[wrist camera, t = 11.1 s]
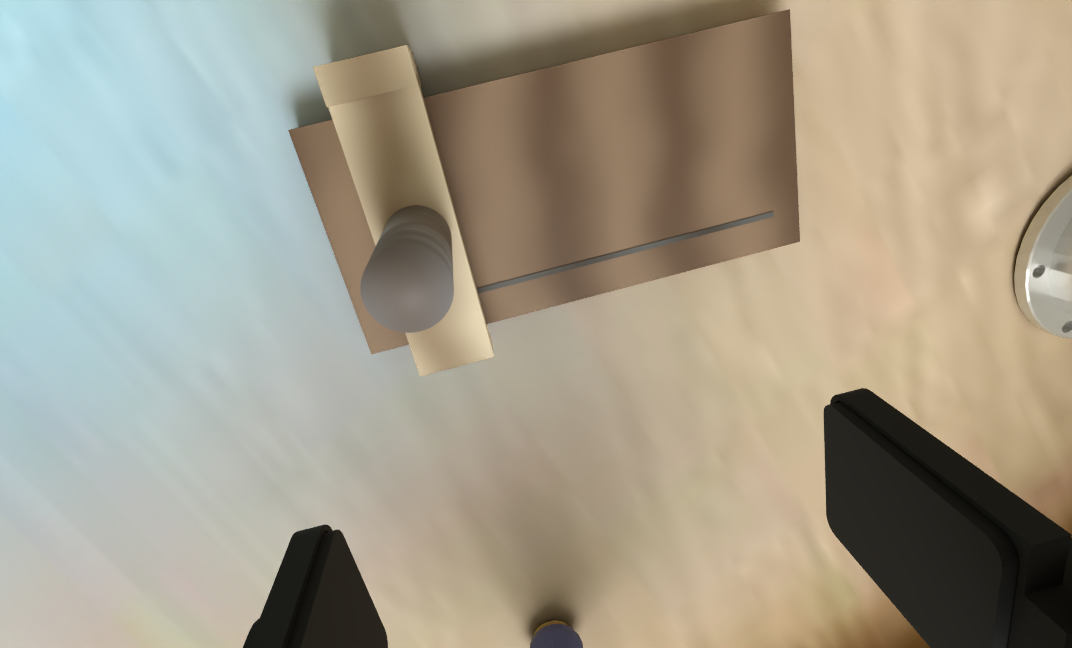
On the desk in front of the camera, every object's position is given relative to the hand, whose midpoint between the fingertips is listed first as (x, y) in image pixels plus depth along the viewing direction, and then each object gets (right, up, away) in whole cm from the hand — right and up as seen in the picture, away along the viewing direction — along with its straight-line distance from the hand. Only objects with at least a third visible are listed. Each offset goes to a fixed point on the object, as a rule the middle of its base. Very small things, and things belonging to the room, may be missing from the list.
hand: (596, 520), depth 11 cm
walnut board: (0, +11, +21) cm, 24 cm away
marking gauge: (-7, +9, +21) cm, 24 cm away
